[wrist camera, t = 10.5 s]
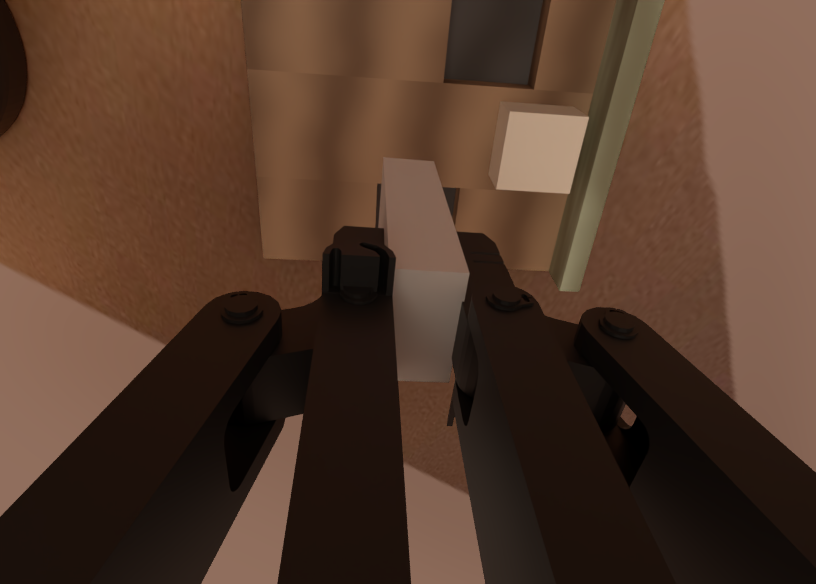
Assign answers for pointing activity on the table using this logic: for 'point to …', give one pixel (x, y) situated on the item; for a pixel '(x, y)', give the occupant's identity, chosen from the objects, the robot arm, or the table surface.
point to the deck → (436, 113)
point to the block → (536, 147)
